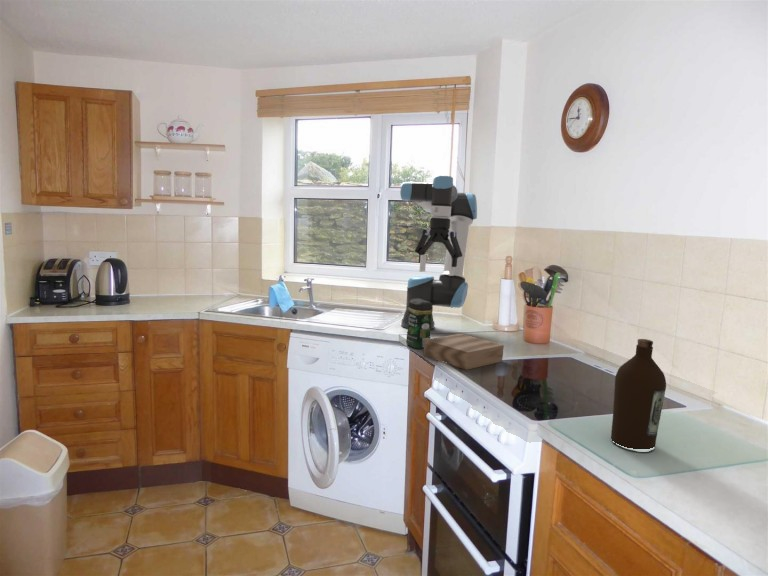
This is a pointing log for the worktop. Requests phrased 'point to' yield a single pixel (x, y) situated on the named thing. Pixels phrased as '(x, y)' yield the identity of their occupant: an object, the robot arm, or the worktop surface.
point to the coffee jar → (419, 322)
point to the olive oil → (638, 399)
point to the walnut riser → (463, 351)
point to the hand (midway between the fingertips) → (436, 273)
